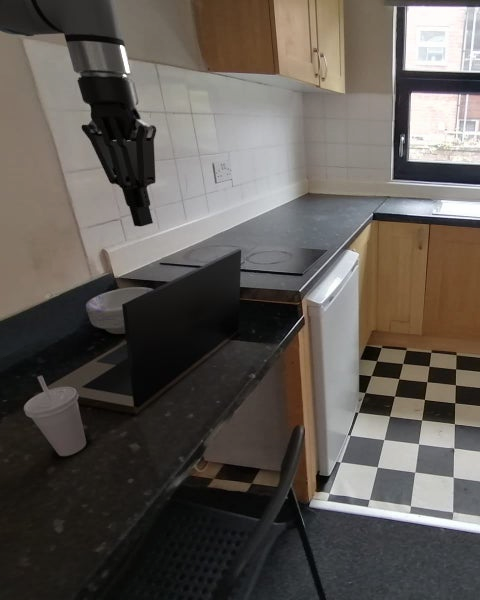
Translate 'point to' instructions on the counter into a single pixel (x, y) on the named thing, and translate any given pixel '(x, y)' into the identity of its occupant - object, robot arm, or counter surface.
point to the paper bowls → (112, 308)
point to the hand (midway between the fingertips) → (143, 224)
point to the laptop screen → (180, 323)
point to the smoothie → (58, 418)
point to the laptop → (113, 380)
